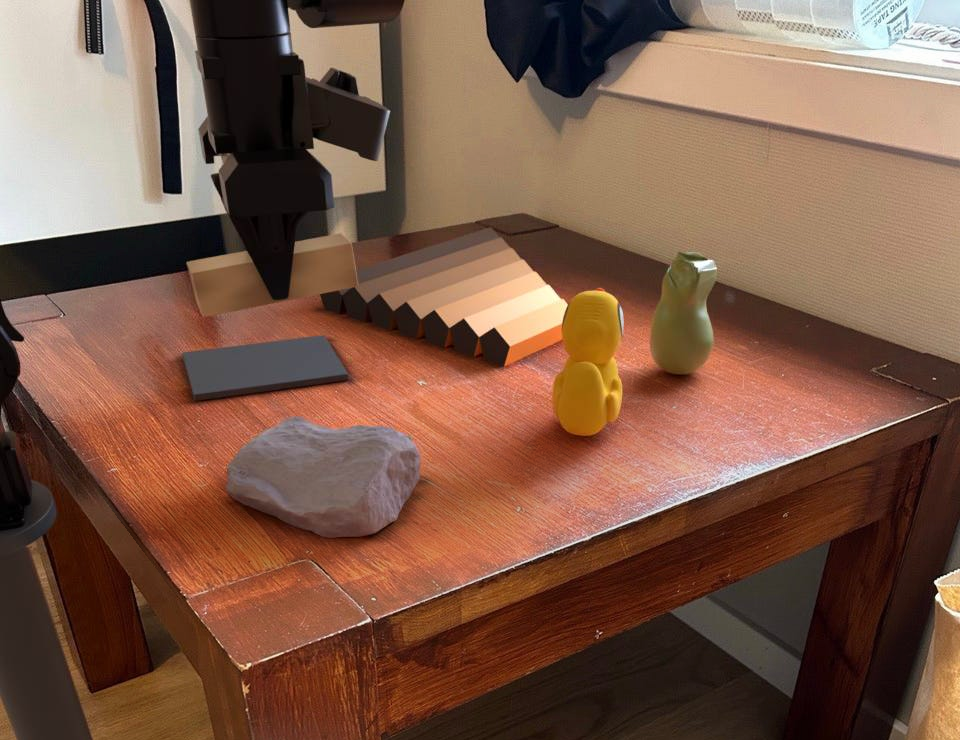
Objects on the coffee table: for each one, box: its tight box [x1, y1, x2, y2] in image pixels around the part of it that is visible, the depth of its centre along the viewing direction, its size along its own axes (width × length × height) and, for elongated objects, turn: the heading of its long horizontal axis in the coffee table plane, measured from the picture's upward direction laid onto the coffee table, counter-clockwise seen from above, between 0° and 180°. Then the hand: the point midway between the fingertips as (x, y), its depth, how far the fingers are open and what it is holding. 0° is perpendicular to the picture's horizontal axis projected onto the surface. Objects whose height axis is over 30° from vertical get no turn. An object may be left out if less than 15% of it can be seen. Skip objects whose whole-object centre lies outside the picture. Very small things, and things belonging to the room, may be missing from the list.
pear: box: [649, 251, 718, 376], centre depth 82 cm, size 6×5×10 cm
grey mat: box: [182, 334, 350, 402], centre depth 85 cm, size 13×10×1 cm
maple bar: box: [186, 233, 358, 318], centre depth 67 cm, size 11×3×3 cm, turn 111°
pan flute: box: [319, 226, 569, 367], centre depth 99 cm, size 25×3×25 cm
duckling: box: [552, 287, 625, 437], centre depth 73 cm, size 11×5×10 cm, turn 169°
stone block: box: [225, 415, 422, 539], centre depth 66 cm, size 12×5×10 cm
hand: (277, 291), depth 68 cm, fingers closed on maple bar, 3 cm apart
